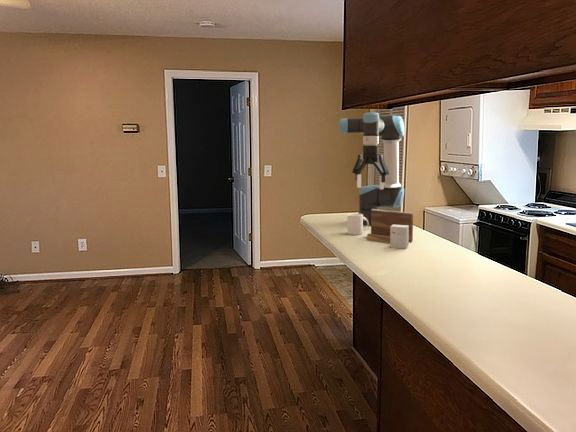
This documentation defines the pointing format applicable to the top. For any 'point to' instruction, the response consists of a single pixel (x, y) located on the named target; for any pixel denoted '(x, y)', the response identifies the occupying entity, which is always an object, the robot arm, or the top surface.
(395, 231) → the small box
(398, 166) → the robot arm
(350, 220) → the mug
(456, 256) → the top surface
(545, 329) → the top surface
